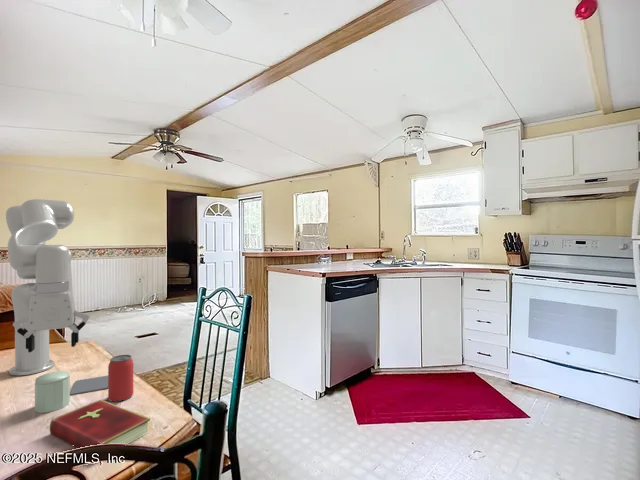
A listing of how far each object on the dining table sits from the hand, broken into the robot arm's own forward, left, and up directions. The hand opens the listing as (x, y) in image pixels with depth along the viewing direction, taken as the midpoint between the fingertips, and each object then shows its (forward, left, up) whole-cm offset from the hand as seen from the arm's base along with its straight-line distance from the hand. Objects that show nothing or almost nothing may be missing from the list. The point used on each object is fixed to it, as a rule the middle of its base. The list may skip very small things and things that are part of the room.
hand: (53, 348), depth 95 cm
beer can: (+3, +17, -17) cm, 24 cm away
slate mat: (-11, +8, -17) cm, 22 cm away
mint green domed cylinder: (0, 0, -17) cm, 17 cm away
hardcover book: (+22, +13, -17) cm, 31 cm away
